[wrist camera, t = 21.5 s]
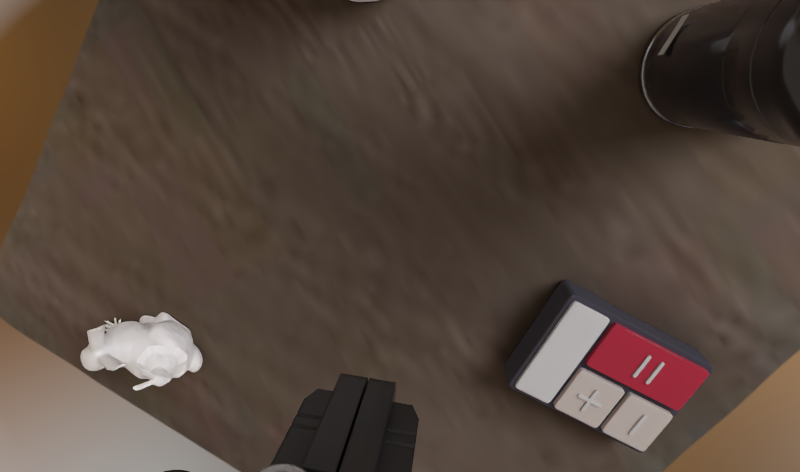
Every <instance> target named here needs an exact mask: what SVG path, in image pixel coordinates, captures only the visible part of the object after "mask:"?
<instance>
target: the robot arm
mask: <svg viewBox="0 0 800 472" xmlns="http://www.w3.org/2000/svg"><path fill="white" fill-rule="evenodd" d="M639 82H640V88H641V92H642V95H643V97H644V100H645V102H646V103H647V105H648V106H649V108H650V109H651V110H652V111H653V112H654V113H655V114H656V115H657V116H658V117H660V118H661V119H663V120H664V121H666V122H668V123H671V124H673V125H677V126H681V127H687V128H698V129H704V130H709V131H715V132H720V133H726V134H731V135H737V136H742V137H748V138H753V139H759V140H764V141H770V142H775V143H781V144H788V145H793V146H799V147H800V0H721V1H718V2H715V3H711V4H709V5H704V6H699V7H696V8H693V9H690V10H687V11H684V12H682V13H680V14H678V15H676V16H675V17H673V18H672V19H670V20H669V21H668V22H666V23H665V24H664V25H663V26H662V27H661V28H660V29H659V30H658V31H657V32H656V33H655V34H654V36H653V37H652V38H651V40H650V42H649V43H648V45H647V47H646V49H645V51H644V54H643V56H642V60H641V64H640V71H639ZM395 391H396V383H395V382H389V381H383V380H377V379H372V378H370V379H369V381H368V378H365V377H359V376H354V375H348V374H341V375H340V377H339V379H338V381H337V384H336V386H335V388H334V390H333V391H327V390H322V389H317V390H316V391H315V392H313V393H312V394H311V395H309V396H308V397H307V398H305V399H304V401H303V403H302V405H301V407H300V409H299V411H298V414H297V415H296V417H295V419H294V421H293V423H292V426H290V428H289V430H288V432H287V434H286V436H285V438H284V440H283V442H282V444H281V446H280V448H279V450H278V452H277V454H276V456H275V458H274V459H273V461H272V463H271V465H270V466H267V467H265V468H263V469H261V470H259V471H258V472H411V471H412V464H413V456H414V449H415V442H416V435H417V428H418V421H419V419H418V417H417V414H416V412H415V410H414V408H413V405H407V404H401V403H396V402H394V399H395ZM165 472H188V471H184V470H171V471H165Z"/></svg>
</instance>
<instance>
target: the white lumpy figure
mask: <svg viewBox="0 0 800 472" xmlns="http://www.w3.org/2000/svg"><path fill="white" fill-rule="evenodd" d="M105 322H106V323H107V324H106V325H102V326H100V327H98V328H95V329H91V330H88V331H87V335H88V340H89V345H88V346H87V347H86V348H85V349H84V350H83V351H82V352H81V356H80V357H81V362H82V365H83V366H84V368H85V369H87V370H89V371H98V370H101V369H103V368H106V369H107V370H111V371H114V370H116V369H118V368H121V367H125V368H127V369H128V370H129V371H130V372H131V373H132V374H133V375H135V376H136V377H138V378H140V379H149V380H150V381H147V382H144V383H142V384H139V385H136V386H133V389H134V390H136V391H137V390H141V389H143V388H146V387H148V386H150V385H156V386H163V385H165V384H166V383H168V382H170V381H171V378H179V377H180V376H181V375H183V374H184V373H185V372H186V371H187V370H189V371H191V372H196V371H198V370H199V369H200V368H201V366H202V362H203V359H202V355H201V352H200V350H199V349H198V347H197V346H195V345H194V344H193V339H192V336H191V331H190V330H189V329H188V328H187V327H185V326H184V325H182V324H181V323H179V322H178V321H176V320H175V319H174V318H173V317H171V316H170V315H169V314H167V313H164V312H162V313H160V314H159V315H158V316H157V317H152V316H146V315H145V316H142V317H141V318H140V319H139V322H136V321H126V322H122V323H121V319H120V320H119V321H118V324H117V319H116V318H114V324H113V323H111V322H109V321H105ZM108 324H109V325H108ZM105 327H107V329H105ZM108 328H109V329H108ZM104 331H106V332H107V333H106V334H105V335H104Z"/></svg>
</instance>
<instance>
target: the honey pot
mask: <svg viewBox="0 0 800 472" xmlns="http://www.w3.org/2000/svg"><path fill="white" fill-rule="evenodd" d="M350 1H355V2H370V1H379V0H350Z"/></svg>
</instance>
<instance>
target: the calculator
mask: <svg viewBox="0 0 800 472" xmlns="http://www.w3.org/2000/svg"><path fill="white" fill-rule="evenodd" d="M505 370H506V375H507V379H508V384H509V387H510V388H512V389H514V390H516V391H518V392H520V393H522V394H524V395H526V396H528V397H530V398H532V399H534V400H536V401H538V402H540V403H542V404H544V405H546V406H548V407H550V408H552V409H554V410H556V411H558V412H560V413H562V414H564V415H566V416H568V417H570V418H572V419H574V420H576V421H578V422H580V423H582V424H584V425H586V426H588V427H590V428H592V429H594V430H596V431H598V432H600V433H602V434H604V435H606V436H608V437H610V438H612V439H614V440H616V441H618V442H620V443H622V444H624V445H626V446H628V447H630V448H632V449H634V450H636V451H638V452H644V451H645V450H646V449H647V448H648V447H649V445H650V444H651V443H652V442H653V441H654V439H655V438H656V437H657V436H658V435H659V434H660V432H661V431H662V430H663V429H664V428H665V427H666V425H667V424H668V423H669V422H670V421H671V419H672V418H673V417H674V416H675V415H676V414H677V412H678V411H679V410H680V409H681V408H682V407H683V405H684V404H685V403H686V402H687V401H688V400H689V398H690V397H691V396H692V395H693V394H694V392H695V391H696V390H697V389H698V388H699V387H700V385H701V384H702V383H703V382H704V381H705V380H706V378H707V377H708V376H709V375H710V374H711V372H712V371H713V366H712V365H711V364H710V363H709V362H708V361H707V360H706V359H705V358H704V356H703V355H702V354H701V353H700V352H699V351H698V350H696V349H695V348H693V347H691V346H689V345H687V344H685V343H683V342H681V341H679V340H677V339H675V338H673V337H672V336H670V335H668V334H666V333H664V332H662V331H660V330H658V329H656V328H654V327H652V326H651V325H649V324H647V323H645V322H643V321H641V320H639V319H637V318H635V317H633V316H631V315H629V314H628V313H626V312H624V311H622V310H620V309H618V308H616V307H614V306H612V305H610V304H609V303H607V302H605V301H604V300H602V299H601V298H599V297H598V296H596V295H594V294H593V293H591V292H589V291H587V290H585V289H583V288H581V287H579V286H577V285H575V284H573V283H572V282H570V281H567V280H563V281H562V282H561V283H560V284H559V285H558V287H557V288H556V290H555V291H554V293H553V294H552V296H551V297H550V299H549V300H548V302H547V303H546V304H545V306H544V307H543V309H542V310H541V312H540V313H539V315H538V316H537V318H536V319H535V321H534V322H533V323H532V325H531V326H530V328H529V329H528V331H527V332H526V334H525V335H524V337H523V338H522V340H521V341H520V342H519V344H518V345H517V347H516V348H515V350H514V351H513V353H512V354H511V356H510V357H509V359H508V360H507V362H506V363H505Z"/></svg>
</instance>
